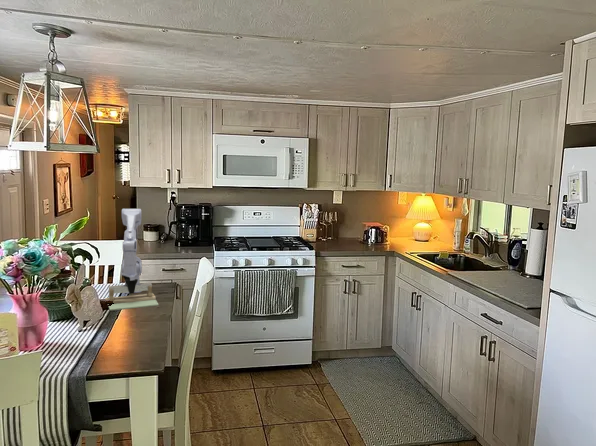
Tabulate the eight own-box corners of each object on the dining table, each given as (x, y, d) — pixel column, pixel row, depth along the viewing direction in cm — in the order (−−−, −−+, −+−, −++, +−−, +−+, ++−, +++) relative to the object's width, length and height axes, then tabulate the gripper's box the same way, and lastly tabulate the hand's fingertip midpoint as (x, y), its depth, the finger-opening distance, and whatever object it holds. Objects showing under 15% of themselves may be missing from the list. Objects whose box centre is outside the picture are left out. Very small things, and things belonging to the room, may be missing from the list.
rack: (105, 300, 236) (104, 287, 235) (153, 295, 246) (153, 283, 245) (106, 304, 230) (106, 291, 229) (155, 299, 240) (155, 286, 239)
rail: (109, 293, 231) (109, 287, 231) (108, 292, 234) (108, 286, 234) (151, 289, 240) (151, 284, 240) (150, 288, 243) (150, 282, 243)
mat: (108, 305, 228) (108, 304, 228) (155, 300, 237) (155, 299, 237) (109, 310, 221) (109, 309, 220) (158, 305, 230) (158, 304, 230)
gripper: (119, 262, 240) (120, 288, 242) (123, 268, 227) (123, 295, 229) (134, 261, 243) (134, 287, 245) (138, 267, 230) (139, 294, 232)
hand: (130, 291), depth 237 cm, fingers open, 7 cm apart
